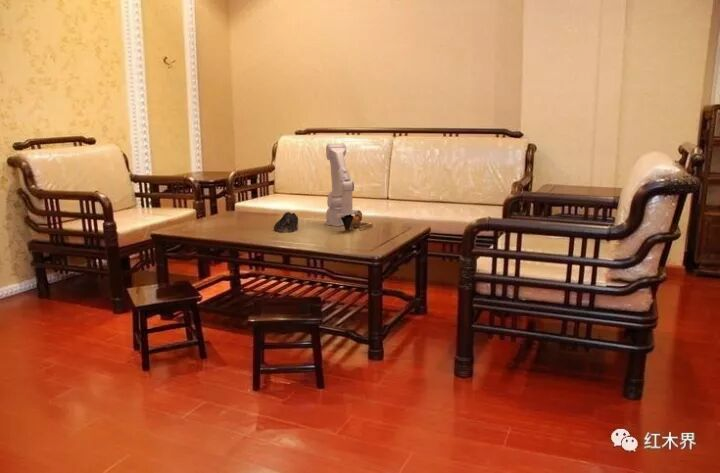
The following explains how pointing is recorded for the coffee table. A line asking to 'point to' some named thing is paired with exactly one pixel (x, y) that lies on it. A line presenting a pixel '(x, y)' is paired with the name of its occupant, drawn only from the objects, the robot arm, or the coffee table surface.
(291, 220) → the crystal cluster
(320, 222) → the coffee table surface
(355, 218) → the lion figurine
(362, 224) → the wooden frame
